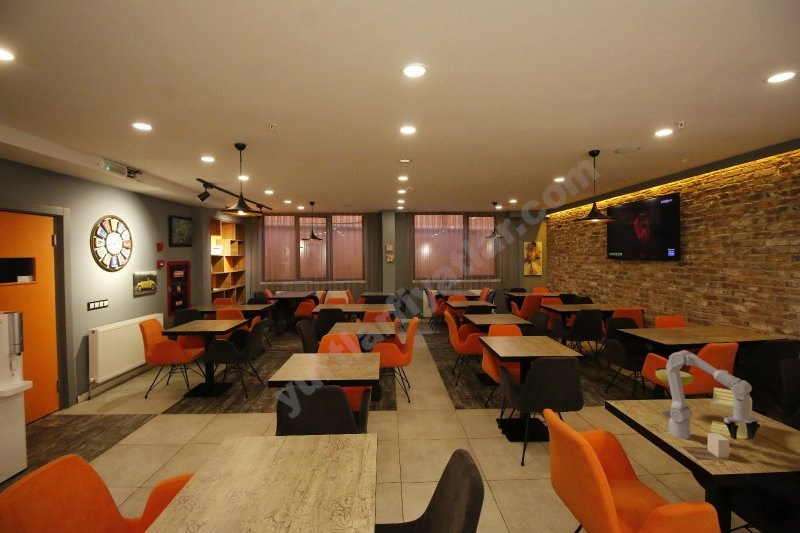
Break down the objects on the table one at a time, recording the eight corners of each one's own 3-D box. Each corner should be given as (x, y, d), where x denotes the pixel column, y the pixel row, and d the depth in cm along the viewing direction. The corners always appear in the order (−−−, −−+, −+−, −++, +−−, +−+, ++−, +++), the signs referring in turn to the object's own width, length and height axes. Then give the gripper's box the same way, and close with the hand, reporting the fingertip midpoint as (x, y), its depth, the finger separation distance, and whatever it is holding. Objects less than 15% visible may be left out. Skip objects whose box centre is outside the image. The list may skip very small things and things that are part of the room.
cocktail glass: (695, 424, 214) (696, 378, 214) (656, 417, 223) (656, 374, 223) (690, 412, 230) (691, 370, 230) (654, 407, 239) (654, 366, 239)
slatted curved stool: (751, 446, 189) (751, 410, 188) (709, 436, 199) (709, 401, 199) (751, 426, 211) (752, 393, 211) (713, 418, 222) (714, 387, 221)
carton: (707, 450, 182) (707, 433, 182) (717, 450, 182) (718, 433, 182) (718, 457, 176) (718, 439, 175) (729, 458, 175) (729, 440, 175)
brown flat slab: (680, 449, 186) (680, 446, 186) (716, 451, 184) (717, 447, 184) (697, 462, 174) (697, 459, 174) (736, 464, 173) (736, 461, 172)
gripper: (733, 411, 173) (733, 442, 173) (766, 411, 173) (766, 442, 173) (720, 406, 180) (720, 435, 180) (751, 405, 180) (752, 435, 180)
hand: (742, 438), depth 177 cm, fingers open, 7 cm apart
